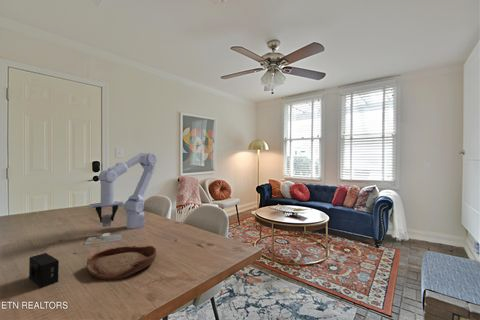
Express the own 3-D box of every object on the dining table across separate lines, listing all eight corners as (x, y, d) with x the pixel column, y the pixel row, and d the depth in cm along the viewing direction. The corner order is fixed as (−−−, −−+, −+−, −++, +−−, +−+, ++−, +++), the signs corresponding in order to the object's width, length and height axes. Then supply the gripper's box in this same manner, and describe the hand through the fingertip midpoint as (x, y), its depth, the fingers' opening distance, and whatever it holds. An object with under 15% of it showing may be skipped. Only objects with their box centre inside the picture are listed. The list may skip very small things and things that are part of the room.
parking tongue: (110, 234, 114) (110, 232, 114) (109, 237, 110) (109, 235, 110) (103, 235, 113) (103, 233, 113) (102, 238, 108) (102, 236, 108)
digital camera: (23, 280, 71) (24, 258, 71) (45, 272, 75) (45, 252, 75) (35, 290, 65) (36, 266, 65) (58, 282, 70) (58, 259, 70)
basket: (75, 286, 68) (75, 270, 68) (97, 258, 88) (97, 245, 88) (153, 276, 75) (153, 261, 75) (157, 252, 94) (158, 240, 94)
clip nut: (111, 223, 114) (112, 214, 114) (110, 226, 110) (110, 216, 110) (102, 224, 112) (102, 214, 112) (101, 227, 108) (101, 216, 108)
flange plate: (121, 237, 111) (121, 233, 111) (120, 242, 104) (120, 238, 104) (88, 240, 105) (88, 237, 105) (84, 246, 98) (84, 242, 98)
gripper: (122, 192, 119) (122, 217, 119) (90, 194, 111) (89, 221, 111) (124, 194, 113) (123, 220, 113) (89, 196, 105) (89, 224, 105)
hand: (106, 221), depth 111 cm, fingers closed on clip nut, 4 cm apart
